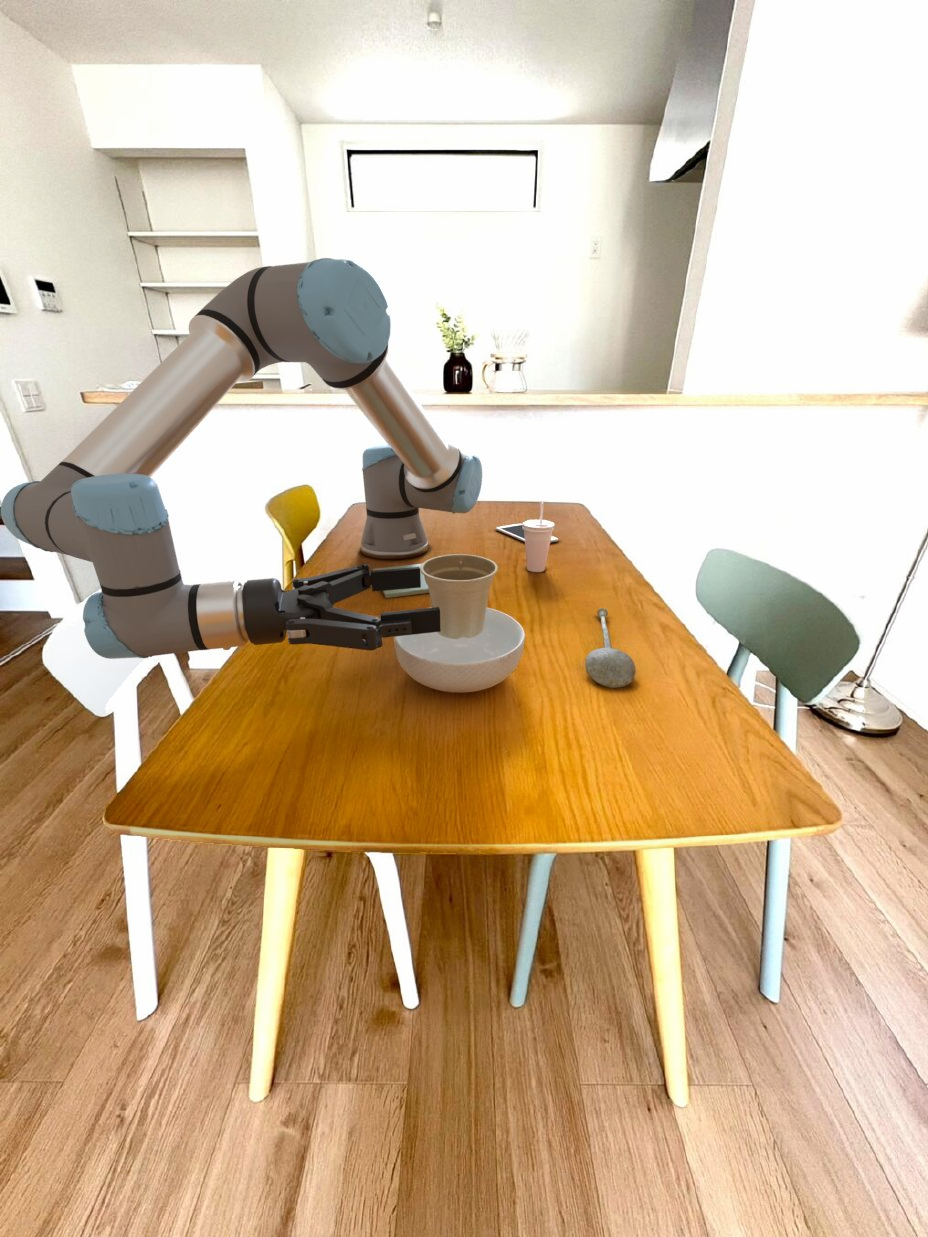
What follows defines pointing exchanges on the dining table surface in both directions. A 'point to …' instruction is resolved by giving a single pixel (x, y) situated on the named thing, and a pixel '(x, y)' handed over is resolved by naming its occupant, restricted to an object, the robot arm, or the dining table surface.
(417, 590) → the pale green notebook
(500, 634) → the cereal bowl
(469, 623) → the flower pot
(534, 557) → the smoothie
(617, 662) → the soupspoon
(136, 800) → the dining table surface
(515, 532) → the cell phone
